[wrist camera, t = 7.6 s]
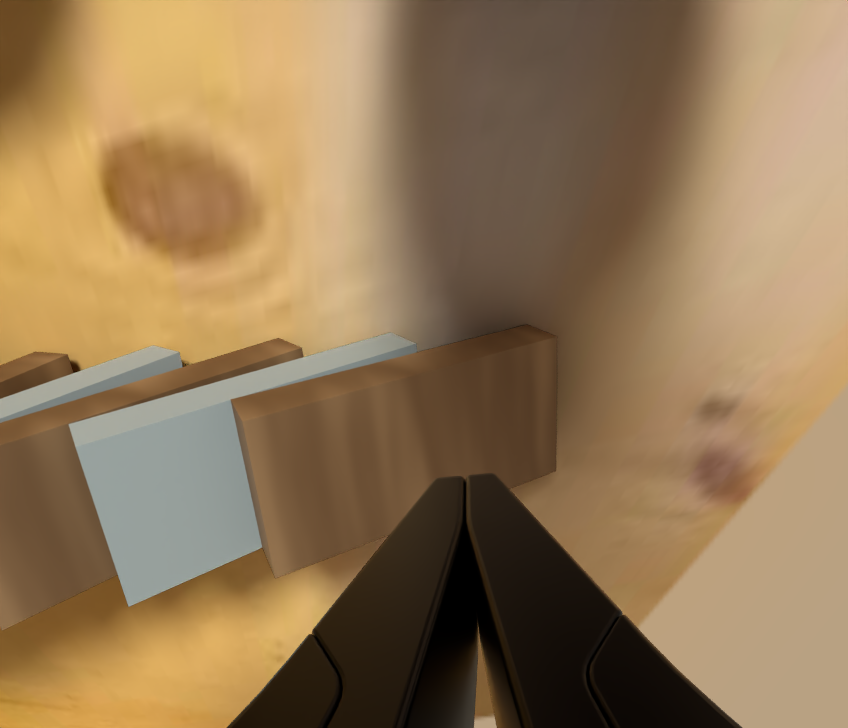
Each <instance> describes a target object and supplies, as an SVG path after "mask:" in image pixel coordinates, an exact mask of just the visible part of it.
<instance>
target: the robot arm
mask: <svg viewBox="0 0 848 728" xmlns="http://www.w3.org/2000/svg"><path fill="white" fill-rule="evenodd" d="M478 627H479V634H480V641H481V647H482V654H483V659H484V664H485V669H486V674H487V680H488V685H489V690H490V695H491V700H492V705H493V710H494V715H495V720H496V725H497V728H742V727H741V726H740V725H739V724H737V723H736V722H735V721H734V720H733V719H732V718H731V717H729V716H728V715H727V714H726V713H725V712H724V711H723V710H721V709H720V708H719V707H718V706H717V705H716V704H715V703H714V702H713V701H711V700H710V699H709V698H708V697H707V696H706V695H705V694H704V693H703V692H701V691H700V690H699V689H698V688H697V687H696V686H695V685H694V684H693V683H692V682H691V681H689V680H688V679H687V678H686V677H685V676H684V675H683V674H682V673H681V672H680V671H679V670H678V669H677V668H676V667H675V666H673V665H672V663H671V662H670V661H669V660H668V659H667V658H666V657H665V656H664V655H663V654H662V653H661V652H660V651H659V650H658V649H657V648H656V647H655V646H654V645H653V644H652V643H651V642H650V641H649V640H648V639H647V638H646V637H645V636H644V635H643V634H642V632H641V631H640V630H639V629H638V628H637V627H636V626H635V625H634V624H633V623H632V621H631V620H630V619H629V618H628V617H627V616H625V615H622V611H621V610H620V609H619V608H618V607H617V606H616V604H615V603H614V602H613V601H612V600H611V599H610V598H609V597H608V596H607V595H606V594H605V593H604V591H603V590H602V589H601V588H600V587H599V586H598V585H597V584H596V583H595V582H594V581H593V580H592V578H591V577H590V576H589V575H588V574H587V573H586V572H585V571H584V570H583V569H582V568H581V567H580V565H579V564H578V563H577V562H576V561H575V560H574V559H573V558H572V557H571V556H570V555H569V554H568V552H567V551H566V550H565V549H564V548H563V547H562V546H561V545H560V544H559V543H558V542H557V541H556V539H555V538H554V537H553V536H552V535H551V534H550V533H549V532H548V531H547V530H546V529H545V527H544V526H543V525H542V524H541V523H540V522H539V521H538V520H537V519H536V518H535V517H534V516H533V514H532V513H531V512H530V511H529V510H528V509H527V508H526V507H525V506H524V505H523V504H522V503H521V501H520V500H519V499H518V498H517V497H516V496H515V495H514V494H513V493H512V492H511V491H510V490H509V488H508V487H507V486H506V485H505V484H504V483H503V482H502V481H501V480H500V479H499V478H498V477H497V475H495V474H493V473H485V474H474V475H469V476H467V477H466V480H465V479H464V477H462V476H451V477H439V478H436V479H435V480H434V481H433V482H432V483H431V484H430V486H429V487H428V488H427V489H426V490H425V492H424V493H423V494H422V495H421V497H420V498H419V499H418V500H417V502H416V503H415V504H414V505H413V507H412V508H411V509H410V510H409V511H408V513H407V514H406V515H405V516H404V518H403V519H402V520H401V521H400V523H399V524H398V525H397V526H396V528H395V529H394V530H393V531H392V532H391V534H390V535H389V536H388V537H387V539H386V540H385V541H384V542H383V544H382V545H381V546H380V547H379V549H378V550H377V551H376V552H375V553H374V555H373V556H372V557H371V558H370V560H369V561H368V562H367V563H366V565H365V566H364V567H363V568H362V570H361V571H360V572H359V573H358V574H357V576H356V577H355V578H354V579H353V581H352V582H351V583H350V584H349V586H348V587H347V588H346V589H345V591H344V592H343V593H342V594H341V595H340V597H339V598H338V599H337V600H336V602H335V603H334V604H333V605H332V607H331V608H330V609H329V610H328V612H327V613H326V614H325V615H324V616H323V618H322V619H321V620H320V621H319V623H318V624H317V625H316V626H315V628H314V629H313V631H312V634H313V635H312V634H310V635H308V636H307V637H306V638H305V640H304V641H303V642H302V643H301V644H300V646H299V647H298V648H297V649H296V651H295V652H294V653H293V654H292V656H291V657H290V658H289V659H288V660H287V661H286V663H285V664H284V665H283V666H282V667H281V668H280V670H279V671H278V672H277V673H276V674H275V675H274V677H273V678H272V679H271V680H270V681H269V682H268V684H267V685H266V686H265V687H264V688H263V690H262V691H261V692H260V693H259V694H258V695H257V696H256V697H255V698H254V699H253V700H252V701H251V702H250V704H249V705H248V706H247V707H246V708H245V709H244V710H243V711H242V712H241V713H240V714H239V715H238V716H237V717H236V718H235V719H234V720H233V722H232V723H231V724H230V725H229V726H228V727H227V728H474V714H475V697H476V680H477V664H478Z"/></svg>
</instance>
